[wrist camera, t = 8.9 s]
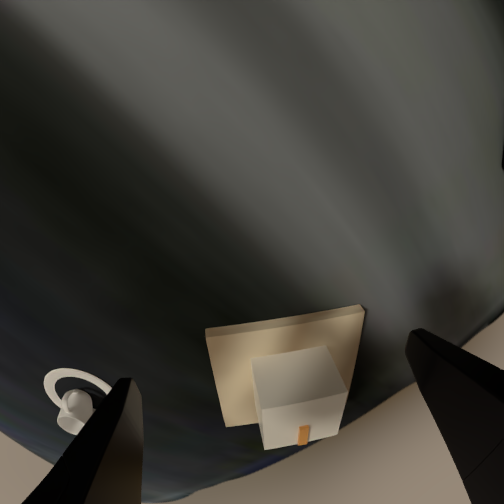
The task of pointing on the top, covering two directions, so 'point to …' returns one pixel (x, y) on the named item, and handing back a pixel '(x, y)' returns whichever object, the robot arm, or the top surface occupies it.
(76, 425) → the white ring with cylinder
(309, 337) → the board
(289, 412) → the small white box
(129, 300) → the top surface
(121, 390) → the robot arm
